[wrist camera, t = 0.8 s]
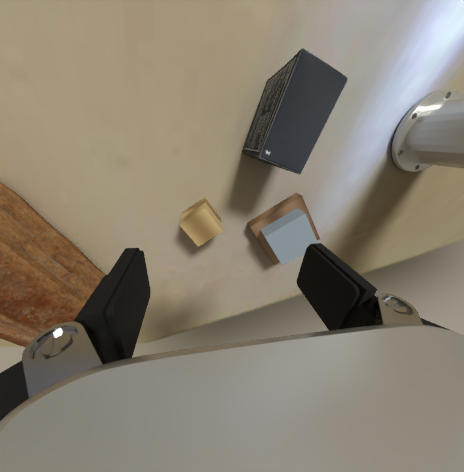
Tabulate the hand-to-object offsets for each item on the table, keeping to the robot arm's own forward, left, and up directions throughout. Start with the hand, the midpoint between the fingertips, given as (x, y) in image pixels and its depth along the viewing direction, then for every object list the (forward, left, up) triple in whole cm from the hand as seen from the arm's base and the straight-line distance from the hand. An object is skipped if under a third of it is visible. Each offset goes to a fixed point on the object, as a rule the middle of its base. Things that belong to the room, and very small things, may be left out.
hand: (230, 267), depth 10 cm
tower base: (-7, +16, -25) cm, 31 cm away
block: (+5, +4, -25) cm, 26 cm away
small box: (-13, -2, -25) cm, 28 cm away
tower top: (-7, +16, -22) cm, 28 cm away
